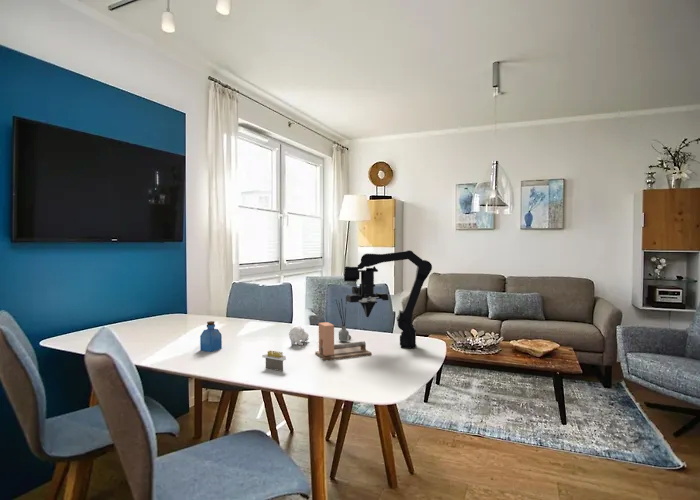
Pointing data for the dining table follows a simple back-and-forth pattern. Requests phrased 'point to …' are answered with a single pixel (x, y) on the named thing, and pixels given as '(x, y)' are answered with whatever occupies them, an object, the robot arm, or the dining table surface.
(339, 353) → the pipe rig
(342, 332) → the reed diffuser
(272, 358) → the platform
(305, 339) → the white lumpy figurine
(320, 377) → the dining table surface
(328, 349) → the peach rectangular block
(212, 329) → the perfume bottle
